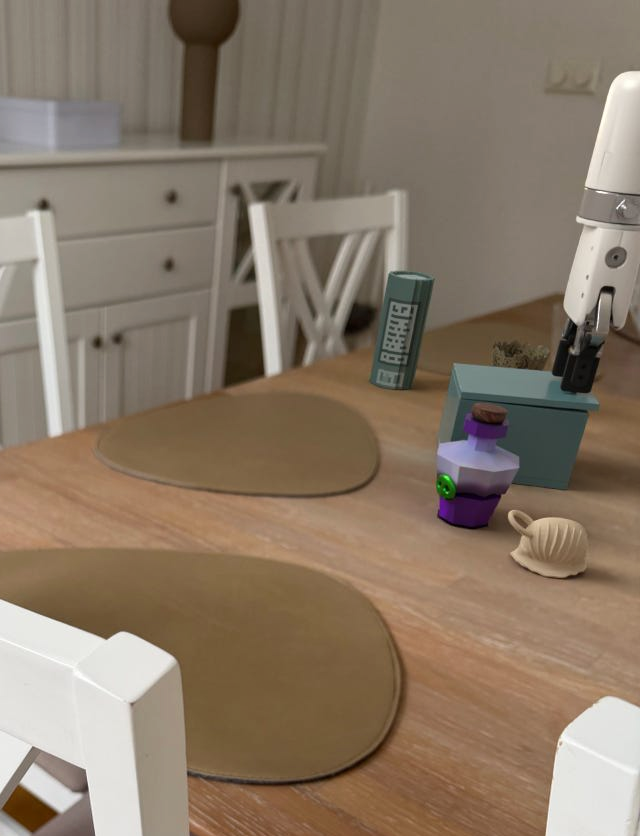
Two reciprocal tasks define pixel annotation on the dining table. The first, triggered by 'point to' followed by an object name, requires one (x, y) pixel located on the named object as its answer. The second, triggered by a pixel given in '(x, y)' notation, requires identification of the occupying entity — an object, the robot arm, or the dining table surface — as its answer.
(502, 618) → the dining table surface
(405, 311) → the can
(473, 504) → the potion bottle
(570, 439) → the box
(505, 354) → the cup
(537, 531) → the decorative ornament
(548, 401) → the freezer lid
